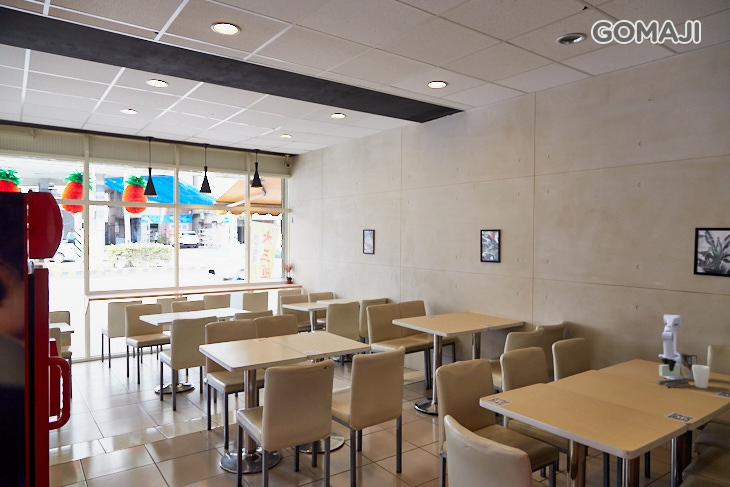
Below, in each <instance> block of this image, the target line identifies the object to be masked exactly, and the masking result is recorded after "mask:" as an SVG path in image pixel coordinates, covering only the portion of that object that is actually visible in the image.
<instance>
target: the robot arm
mask: <svg viewBox="0 0 730 487" xmlns="http://www.w3.org/2000/svg"><path fill="white" fill-rule="evenodd" d="M663 323H664V324H663V325H664V328H663V332H661V339H662V343H663V344H662V345H663V354H661V353H660V354H658V358H661V360H660V361H662V363H663V365H666V364H669V370H670V371H673V369H674V366H675V364H680V366H681V364H682V360H681V355H680V354H681V353H680V352H678V350H677V348H678V347H677V345H678V344H677V341H678V329H680V328H681V326H682V316H681V315H680V314H666V313H664V315H663ZM663 378H666V379H667V380H672V379H682V380H684V378H683V377H680V375H675V376H664V377H663Z"/></svg>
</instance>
